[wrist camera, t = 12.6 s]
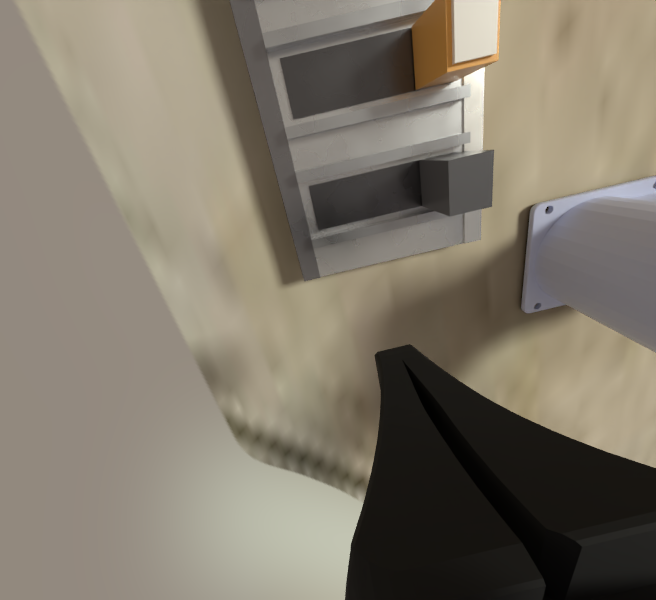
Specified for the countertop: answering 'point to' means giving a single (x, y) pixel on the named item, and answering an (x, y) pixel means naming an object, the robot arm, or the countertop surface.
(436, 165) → the block
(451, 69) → the block
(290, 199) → the panel
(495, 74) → the countertop surface
